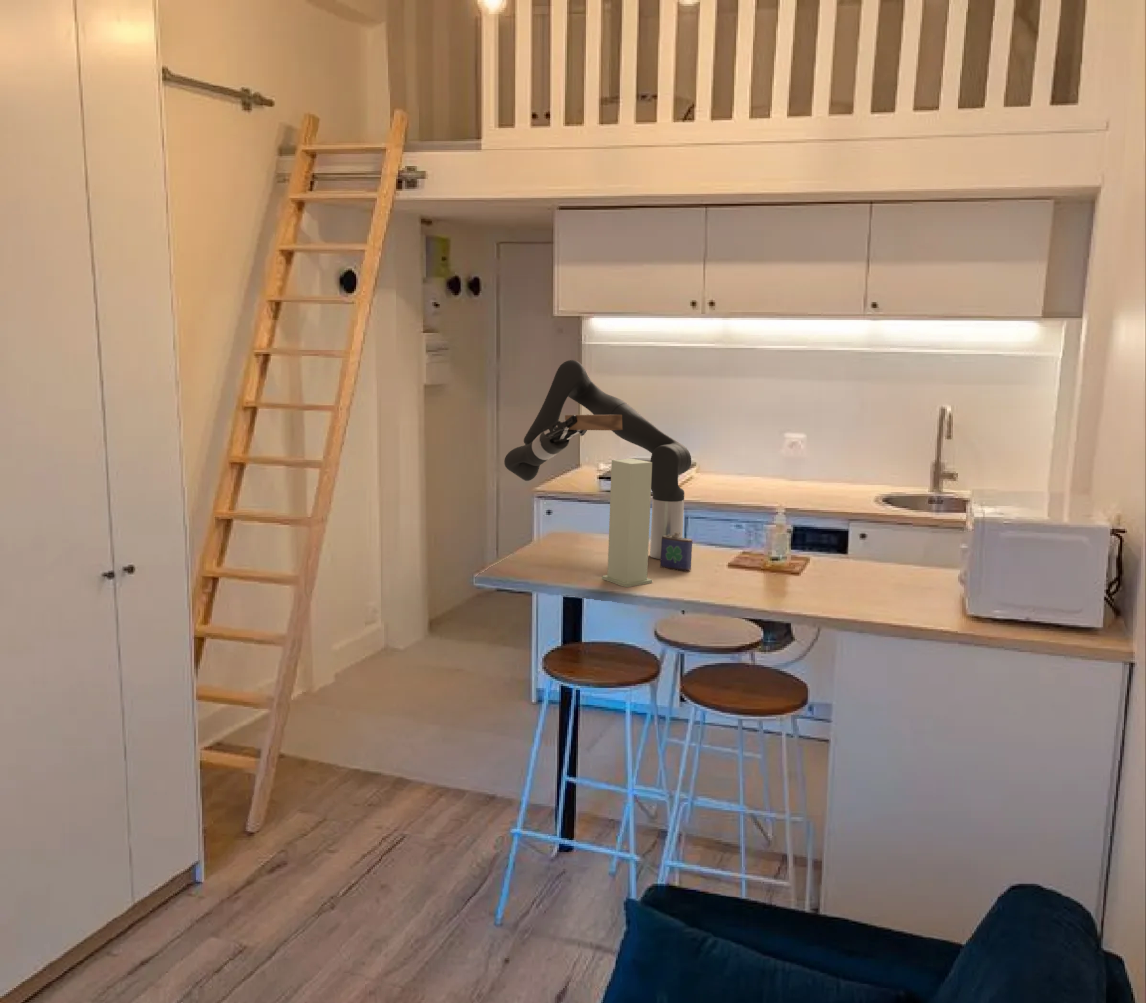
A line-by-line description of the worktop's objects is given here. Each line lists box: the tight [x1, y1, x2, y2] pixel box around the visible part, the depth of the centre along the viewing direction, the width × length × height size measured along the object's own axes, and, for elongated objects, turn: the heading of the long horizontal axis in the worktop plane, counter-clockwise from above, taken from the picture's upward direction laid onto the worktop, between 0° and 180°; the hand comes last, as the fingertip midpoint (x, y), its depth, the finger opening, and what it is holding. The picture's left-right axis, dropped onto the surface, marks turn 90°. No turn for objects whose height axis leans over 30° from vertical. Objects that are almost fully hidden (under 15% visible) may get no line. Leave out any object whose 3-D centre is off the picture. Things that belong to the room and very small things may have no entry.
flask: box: [659, 532, 693, 572], centre depth 283 cm, size 9×3×11 cm, turn 60°
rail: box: [564, 414, 622, 431], centre depth 275 cm, size 4×20×4 cm, turn 37°
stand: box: [601, 458, 653, 588], centre depth 266 cm, size 9×10×32 cm
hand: (582, 417), depth 279 cm, fingers closed on rail, 4 cm apart
